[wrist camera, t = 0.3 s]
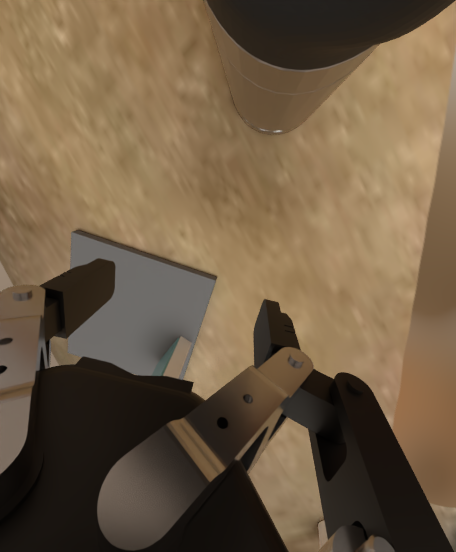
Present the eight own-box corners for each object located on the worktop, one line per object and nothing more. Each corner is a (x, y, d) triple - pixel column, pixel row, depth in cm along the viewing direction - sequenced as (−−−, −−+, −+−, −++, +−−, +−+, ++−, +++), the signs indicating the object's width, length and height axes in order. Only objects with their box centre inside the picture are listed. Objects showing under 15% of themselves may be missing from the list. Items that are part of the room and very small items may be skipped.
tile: (191, 342, 36) (157, 435, 23) (169, 368, 39) (128, 464, 26) (179, 335, 36) (138, 424, 23) (158, 361, 38) (110, 454, 26)
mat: (77, 230, 32) (71, 232, 31) (217, 277, 33) (215, 280, 31) (72, 348, 41) (67, 352, 40) (181, 382, 42) (179, 388, 41)
